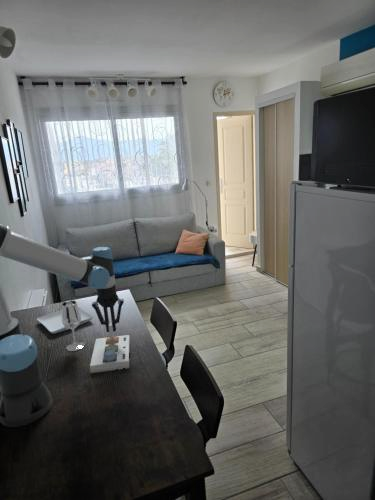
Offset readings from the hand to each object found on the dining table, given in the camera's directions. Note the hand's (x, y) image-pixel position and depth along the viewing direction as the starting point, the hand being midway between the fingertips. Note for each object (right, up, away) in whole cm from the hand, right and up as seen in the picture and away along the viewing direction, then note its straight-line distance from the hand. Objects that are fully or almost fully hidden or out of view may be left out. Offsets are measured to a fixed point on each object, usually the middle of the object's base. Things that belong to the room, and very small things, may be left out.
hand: (112, 338), depth 136 cm
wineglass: (-16, -5, +3) cm, 17 cm away
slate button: (+2, -5, -12) cm, 13 cm away
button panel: (+1, -6, -5) cm, 8 cm away
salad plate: (-29, 0, +26) cm, 39 cm away
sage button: (+1, -4, -6) cm, 7 cm away
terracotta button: (0, -3, +1) cm, 3 cm away
